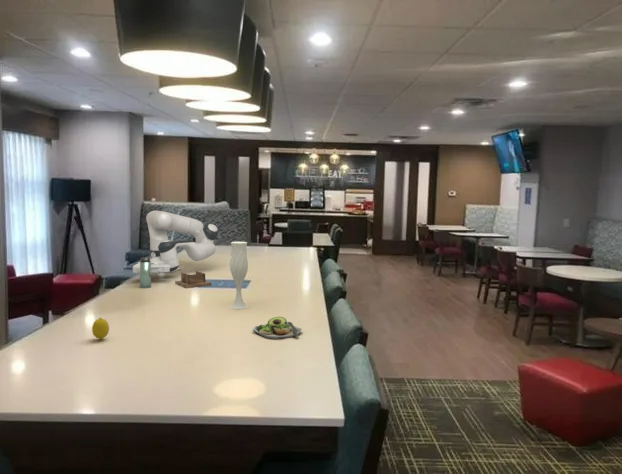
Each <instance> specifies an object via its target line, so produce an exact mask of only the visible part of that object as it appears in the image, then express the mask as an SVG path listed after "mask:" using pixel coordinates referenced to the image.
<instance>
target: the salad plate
mask: <svg viewBox="0 0 622 474" xmlns="http://www.w3.org/2000/svg"><path fill="white" fill-rule="evenodd" d="M252 331H253V332H254V333H255V334H256V335H259V336H261V337H264V338H268V339H273V340H280V339H281V340H282V339H287V338H294V337H297V336H299V334H300V333H301V332H302V327H301V328H300V327H298V326H295V325H294V324H293V322H291V321H287V318H285V317H283V316H276V317H272V318H269V320H268V321H267V323H266V324H259V325H255V326H253V328H252Z"/></svg>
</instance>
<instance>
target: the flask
mask: <svg viewBox="0 0 622 474" xmlns="http://www.w3.org/2000/svg"><path fill="white" fill-rule="evenodd" d="M139 262H140V273H139V278H140V279H139V282H140V283H139V284H140V285H139V286H140V287H139V288H140V289H150V288H152V275H151V261H150V257H147V256H146V257H140V261H139Z"/></svg>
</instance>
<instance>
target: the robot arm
mask: <svg viewBox="0 0 622 474" xmlns="http://www.w3.org/2000/svg"><path fill="white" fill-rule="evenodd" d="M145 220H146V222H147V228H148V233H149V234H148V235H149V244H150V245H149V258H150V261H151V276H155V275H158V274H161V273H163V274H165V273H166V274H167V273H174V272H177V271H179V270H182V267H180V260H179V256H178V252H177V248H179V247H181V248H183V249H184V251H185V252H186V254H187V256H188V257H189V259H191V260H192V261H195V262H199V261H203V260H206V259H208V258H210V257H212V256H213V255H214V254H215V252H216V245H215V243H214V242H215V240H216V239H217V238H218V235H219V232H220V230H219V228H218V226H217V225H216V224H215V223H210V222H209V223H206V224H205V225H204V223H203V222H202V221H200V220H199V219H196V218H193V217H189V216H184V215H180V214H176V213H171V212H169V211H164V210H163V211H161V210H156V209H155V210H152V211H150V212H148V213H147V214H146V217H145ZM167 231H170V232H174V233H179V234H186V235H190V236H192V237H193V238H192V239H183V240H182V239H181V240H170V239H169V236H168V234H167ZM140 262H141V261H138V262H137V263H136V264H134V265H133V266H132V273H133V274H140Z"/></svg>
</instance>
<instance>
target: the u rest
mask: <svg viewBox="0 0 622 474" xmlns="http://www.w3.org/2000/svg"><path fill="white" fill-rule="evenodd" d="M180 273H181V274H180V280H175V281H174V283H175V285H178V286H180V287H182V288H184V289H192V288H193V289H194V288H201V287H209V286H210V287H211V286H212V282H210V281H207V280H206V273H204V272H201V271H198V270H196V271H195V273H193V274H188V273H186V272H180Z"/></svg>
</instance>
